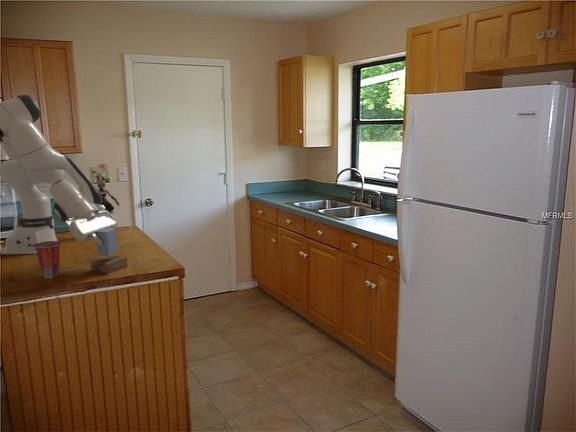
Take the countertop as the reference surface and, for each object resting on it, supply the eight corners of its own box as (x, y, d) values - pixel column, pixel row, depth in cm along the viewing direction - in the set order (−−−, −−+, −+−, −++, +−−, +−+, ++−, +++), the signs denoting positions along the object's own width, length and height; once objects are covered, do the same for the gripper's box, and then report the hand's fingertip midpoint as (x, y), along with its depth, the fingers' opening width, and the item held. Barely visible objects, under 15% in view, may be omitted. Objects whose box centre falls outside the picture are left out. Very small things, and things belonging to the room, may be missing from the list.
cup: (58, 270, 178) (54, 239, 175) (67, 275, 172) (64, 243, 170) (31, 276, 171) (27, 244, 169) (40, 282, 166) (36, 249, 163)
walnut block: (91, 271, 178) (90, 260, 177) (110, 264, 186) (109, 254, 185) (109, 274, 174) (108, 264, 173) (127, 267, 182) (126, 257, 181)
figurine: (90, 237, 227) (83, 174, 221) (89, 234, 233) (83, 173, 227) (122, 233, 234) (117, 172, 228) (120, 230, 239) (115, 171, 233)
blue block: (97, 255, 177) (95, 231, 175) (106, 251, 182) (104, 228, 180) (109, 256, 175) (106, 232, 174) (117, 252, 180) (115, 229, 178)
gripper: (67, 214, 168) (93, 243, 167) (106, 204, 187) (129, 230, 186) (58, 226, 170) (83, 254, 169) (97, 214, 189) (120, 240, 188)
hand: (107, 241), depth 178 cm, fingers closed on blue block, 5 cm apart
